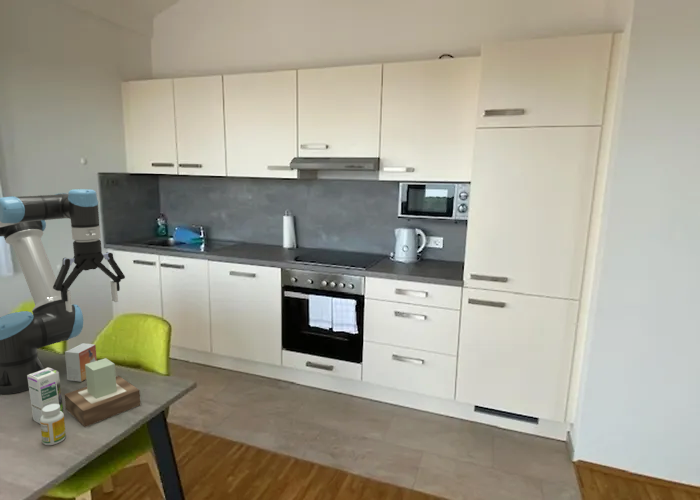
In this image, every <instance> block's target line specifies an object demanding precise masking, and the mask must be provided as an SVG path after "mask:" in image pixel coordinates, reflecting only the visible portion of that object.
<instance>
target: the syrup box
mask: <svg viewBox="0 0 700 500" xmlns="http://www.w3.org/2000/svg"><path fill="white" fill-rule="evenodd" d="M27 378H28V385H29V390H28V392H29V398H30V406H31V411H32V412H31V413H32V419H33V421H34V422H35V423H37V424H39V425H40V418H41V417H42V415H43V414H42V409H43V408H44V407H45V406H47V405H50V404H59V405H60V411H62V412H63V414H65V413H64V407H63V397H62V389H61V380H60V372H59V371H58V370H56V369H54V368H51V367H46V368H44V369H43V370H40V371H38V372H35V373H32V374H29V375H27Z"/></svg>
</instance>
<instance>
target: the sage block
mask: <svg viewBox="0 0 700 500" xmlns="http://www.w3.org/2000/svg"><path fill="white" fill-rule="evenodd" d="M115 364H116V363H114V362H112V361H111V360H109V359H108V358H107V357H105V358H101V359H97V361H95V362H91V363H88V364H85V370H86V379H85V380H86V387H87V391H88V393H89V394H91V395H92V396H93V397H94V398H96V399H97V398H100V397H103V396H105V395H108V394H111V393H114V392H116V391H117V387H116V377H117V375H116V365H115Z"/></svg>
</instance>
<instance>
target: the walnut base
mask: <svg viewBox="0 0 700 500" xmlns="http://www.w3.org/2000/svg"><path fill="white" fill-rule="evenodd" d="M116 387H117V391H116V392H114V393H111V394H108V395H105V396H103V397H100V398H97V399H96V398H94V397H93V396H92V395H91V394H89V393H88V391H87V386H84V387H81V388H78V389H76V390H72V391H70V392H67V393H64V403H65V410H66V411H67V412H68V413H69V414H70V415H71V416H72V417H74V419H75V420H77V422H79V423H80V424H81V425H82V426H83V427H84V428H86V427H89V426H91V425H94V424H96V423H98V422H101V421H103V420H107V419H109V418H111V417H114V416H116V415H118V414H122V413H124V412H126V411H128V410H131V409H134V408H136V407H138V406H141V394H140V393H141V391H140V389H139V388H137V387H136V386H134V385H133V384H131V383H130V382H128V381H127V380H125V379H124V378H123V377H121V376H120V375H116Z"/></svg>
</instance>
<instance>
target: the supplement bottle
mask: <svg viewBox="0 0 700 500" xmlns="http://www.w3.org/2000/svg"><path fill="white" fill-rule="evenodd" d="M63 413H64V411H63V412H62V411H60V405H59V404H50V405H47V406H45V407H44V408H43V409H42V414H43V415H42V417H41V418H40V424H39V425H40V431H41V441H42V442H41V443H42V444H43V445H45V446H53V445H57V444H59V443H61V442H62V441H64V440H65V439H66V436H67V435H66V433H67V432H66V425H65V423H66V422H65V415H64V414H65V413H64V414H63Z"/></svg>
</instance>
